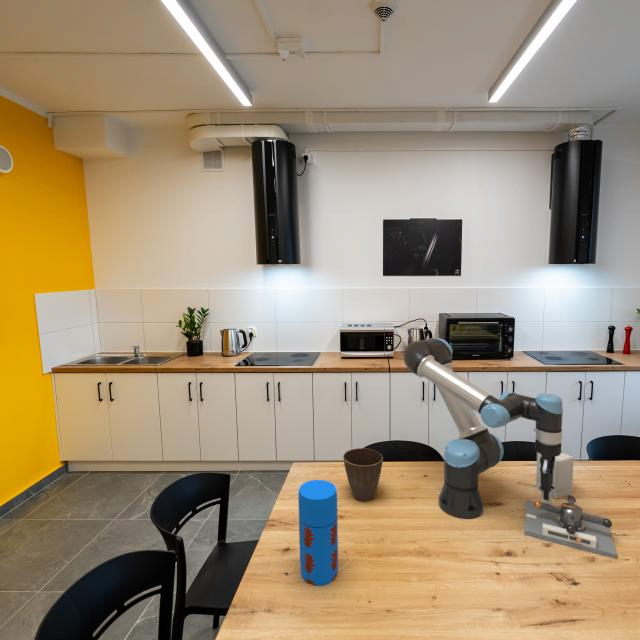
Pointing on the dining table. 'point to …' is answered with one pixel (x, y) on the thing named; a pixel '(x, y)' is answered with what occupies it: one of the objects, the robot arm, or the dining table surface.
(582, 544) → the stand
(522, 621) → the dining table surface
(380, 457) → the plant pot
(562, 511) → the capstan
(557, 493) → the supplement box
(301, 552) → the thermos
